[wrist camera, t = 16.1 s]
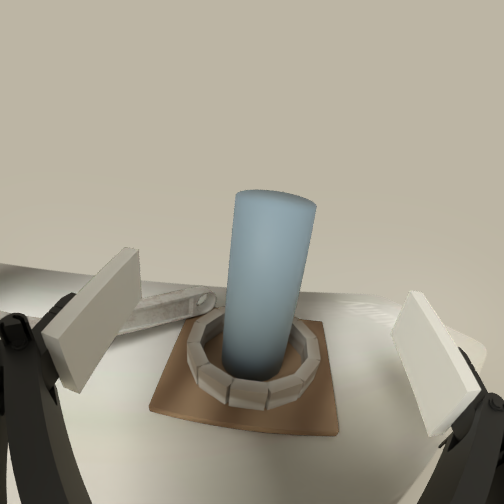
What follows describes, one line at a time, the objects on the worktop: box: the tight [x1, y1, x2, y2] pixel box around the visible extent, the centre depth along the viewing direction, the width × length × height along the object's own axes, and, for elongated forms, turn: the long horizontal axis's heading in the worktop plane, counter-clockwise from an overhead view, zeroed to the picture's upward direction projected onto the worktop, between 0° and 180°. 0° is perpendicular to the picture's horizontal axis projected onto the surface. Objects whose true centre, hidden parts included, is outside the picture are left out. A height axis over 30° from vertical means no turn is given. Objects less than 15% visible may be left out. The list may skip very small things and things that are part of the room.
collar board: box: [149, 305, 339, 436], centre depth 28 cm, size 16×16×3 cm
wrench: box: [0, 286, 217, 340], centre depth 25 cm, size 8×2×30 cm
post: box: [222, 190, 317, 382], centre depth 25 cm, size 6×6×16 cm
